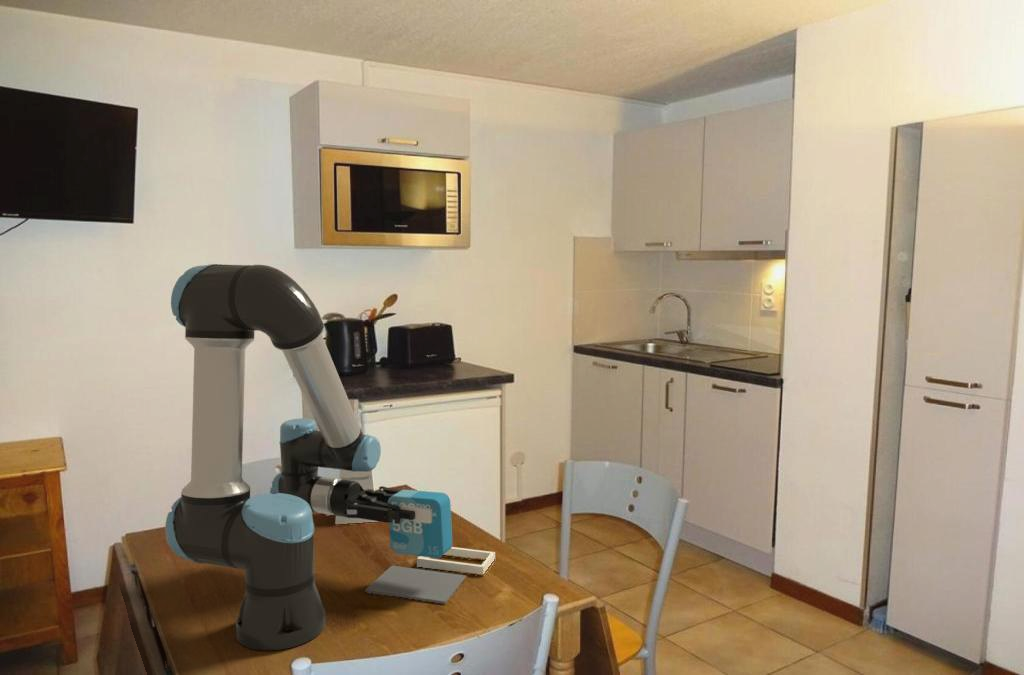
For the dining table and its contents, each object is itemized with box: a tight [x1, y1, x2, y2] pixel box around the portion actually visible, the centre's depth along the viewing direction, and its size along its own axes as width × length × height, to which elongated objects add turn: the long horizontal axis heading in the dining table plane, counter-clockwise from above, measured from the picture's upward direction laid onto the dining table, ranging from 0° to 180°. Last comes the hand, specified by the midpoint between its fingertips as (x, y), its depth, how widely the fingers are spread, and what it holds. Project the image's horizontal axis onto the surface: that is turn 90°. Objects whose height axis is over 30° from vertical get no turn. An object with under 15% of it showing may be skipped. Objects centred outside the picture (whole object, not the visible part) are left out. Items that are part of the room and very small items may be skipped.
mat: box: [364, 565, 467, 605], centre depth 144 cm, size 12×17×1 cm
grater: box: [334, 469, 379, 525], centre depth 182 cm, size 10×10×20 cm
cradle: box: [416, 546, 496, 574], centre depth 154 cm, size 8×15×2 cm, turn 74°
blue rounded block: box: [388, 489, 454, 559], centre depth 143 cm, size 12×4×12 cm, turn 69°
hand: (437, 511), depth 141 cm, fingers closed on blue rounded block, 4 cm apart
